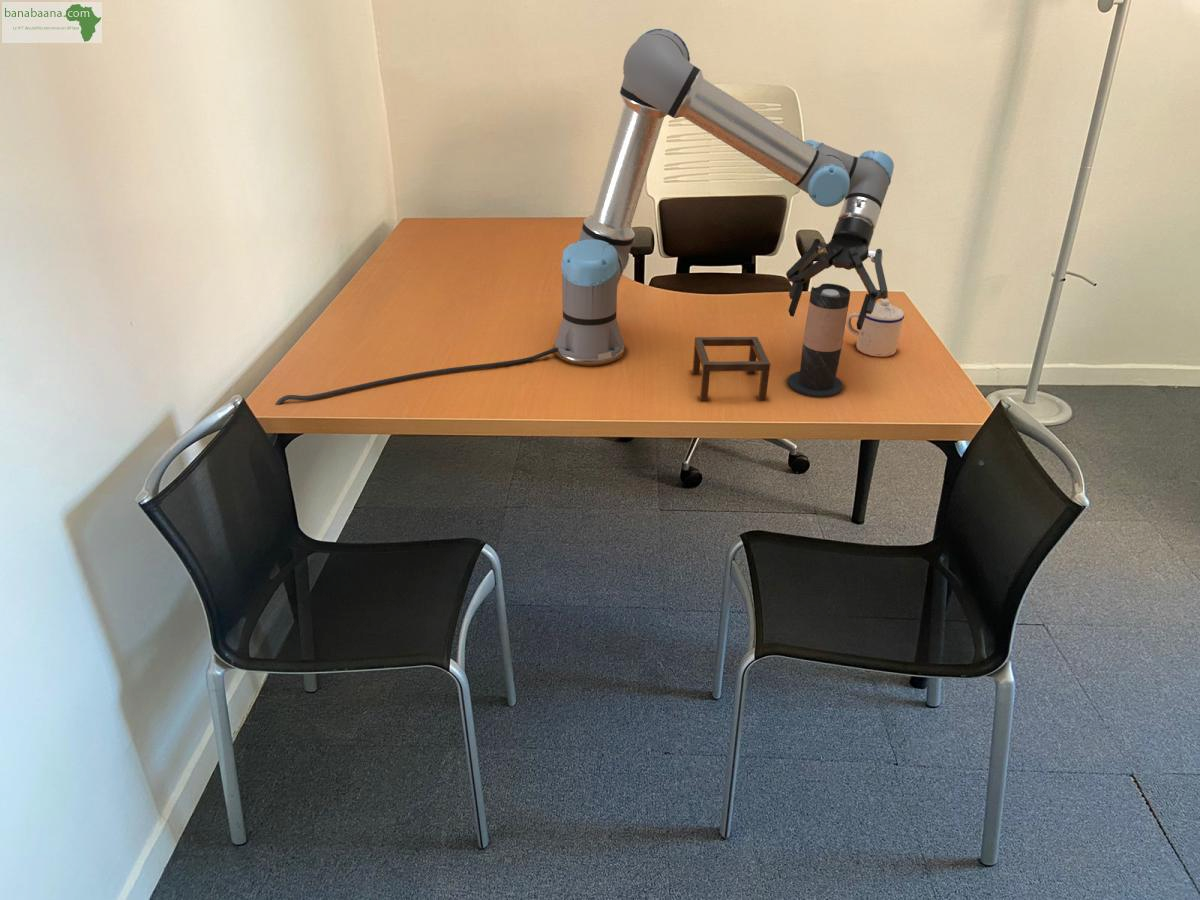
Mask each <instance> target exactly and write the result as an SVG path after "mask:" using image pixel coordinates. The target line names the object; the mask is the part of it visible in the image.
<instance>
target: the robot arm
mask: <svg viewBox="0 0 1200 900" xmlns="http://www.w3.org/2000/svg"><path fill="white" fill-rule="evenodd" d="M690 61H691V57H690V51H689V48H688V46H687V44H686V42H685V41H684V40H683V38H682V37H681V36H680V35H679V34H678V33H676V32H674V31H672V30H669V29H666V28H653V29H650V30H647V31H646V32H644V33H642V34H641V35H640V36H639V37H638V38H637V39H636V40H635V41H634V43H632V44H631V46H630V47H629V48H628V49H627V51H626V54H625V56H624V59H623V65H622V70H623V76H624V77H623V80H622V83H621V87H620V90H619V96H620V98H621V100H622V102H623V108H622V111H621V114H620V117H619V121H618V125H617V127H616V132H615V135H614V139H613V143H612V146H611V149H610V152H609V157H608V161H607V163H606V167H605V170H604V175H603V178H602V182H601V186H600V189H599V193H598V195H597V199H596V202H595V207H594V210H593V213H592V214H591V215H589V216H587V217H585V218H584V220H583V224H582V225H581V226H582V227H581V230H580V233H579V237H578V240H577V241H576V242H572V243H570V244H569V245H568V246H566V247H565V248H564V250H563V251H562V252H563V253H562V256H561V262H560V267H561V268H560V270H561V291H562V292H561V294H562V295H561V298H562V299H561V300H562V319H561V323H560V325H559V329H558V331H557V335H556V337H555V341H554V348H550V349H548V350H545V351H542V352H539V353H537V354H534V355H531V356H527V357H524V358H518V359H512V360H504V361H497V362H490V363H481V364H471V365H462V366H455V367H448V368H441V369H434V370H428V371H422V372H415V373H410V374H404V375H399V376H394V377H389V378H383V379H379V380H374V381H370V382H365V383H361V384H357V385H356V384H355V385H351V386H348V387H343V388H338V389H334V390H329V391H325V392H320V393H315V394H309V395H299V394H286V395H283V396H282V397H279V399H278V400H277V401H276V402H275V404H274V405H275V406H280V405H282V404H283V403H284V402H286V401H289V400H290V401H291V400H293V401H312V400H317V399H321V398H322V399H323V398H327V397H333V396H336V395H340V394H345V393H349V392H354V391H358V390H362V389H367V388H372V387H376V386H380V385H386V384H390V383H395V382H400V381H406V380H411V379H418V378H422V377H428V376H435V375H441V374H448V373H449V374H450V373H455V372H464V371H472V370H482V369H489V368H490V369H491V368H499V367H505V366H513V365H519V364H524V363H528V362H532V361H537V360H539V359H541V358H544V357H546V356H549V355H552V354H555V355H556V356H557V358H558V359H560V360H561V361H563V362H566V363H568V364H572V365H575V366H584V367H585V366H586V367H593V366H594V367H595V366H603V365H608V364H611V363H614V362H616V361H618V360H619V359H621V358H622V357H623V355H624V353H625V343H624V338H623V335H622V332H621V329H620V326H619V323H618V319H617V310H618V309H617V308H618V307H617V305H618V301H617V300H618V285H619V283H620V281H621V278H622V276H623V273H624V271H625V269H626V268H627V266H628V264H629V259H630V253H631V248H632V246H633V243H634V239H635V235H636V233H635V232H634V230H633V227H632V223H633V219H634V217H635V213H636V209H637V206H638V203H639V200H640V196H641V193H642V190H643V188H644V184H645V181H646V177H647V174H648V172H649V171H648V170H649V168H650V164H651V161H652V158H653V155H654V151H655V148H656V145H657V142H658V139H659V136H660V132H661V129H662V126H663V122H664V119H665V117H667V116H670V117H671V118H673V119H678V118H684V119H686V120H687V121H688V122H690V123H692V124H693V125H696V126H697V127H698V128H700V129H702V130H703V131H705V132H707V133H708V134H710V135H712V136H714V137H715V138H717V139H718V140H720V141H722V142H723V143H724V144H727V146H730V147H731V148H733V149H735V150H736V151H738V152H739V153H741V154H743V155H745V156H746V157H748V158H750V159H751V160H753V161H754V162H756V163H757V164H759V165H761V166H762V167H764V168H766V169H767V170H769V171H771V172H772V173H774V174H776V175H777V176H779V177H780V178H782V179H784V180H786V181H787V182H788V183H790V184H792V185H794V186H795V187H796V188H798V189H800V190H801V191H803V192H805V193H806V194H808V196H809V198H810V199H811V200H812V201H813V202H814V204H816V205H818V206H820V207H823V208H829V207H835V206H837V205H839V204H840V203H842V202H843V203H842V205H841V209H840V212H839V215H838V218H837V219H838V220H837V222H836V224H835V227H834V230H833V233H832V236H831V239H830V241H828V243H826V242H822V241H821V240H820V238H815V239H814V240H813V242H812V244H811V246H810V248H809V249H808V250H807V251H806V252H805V253H804V254H803V255H802V256H801V257H800V258H799V259H798V260H797V261H796V262H795V263H794V264H793V265H792V266H790V268H789V269H788V270H787V271H786V273H785V275H786V279H787V281H788V282H789V283H792V284H791V287H790V288H789V293H788V296H789V299H790V300H791V301H790V305H789V306H788V307H789V308H788V309H787V310H788V314H789V316H790V317H795V314H796V311H797V308H798V305H799V303H800V300H801V296H802V294H803V290H804V284H805V283H806V282H808V281H809V280H811V279H812V278H814V277H815V276H817V275H818V274H820V273H821V272H824V270H827V269H829V268H831V267H833V266H834V268H835V269H836V268H837V269H843V270H849V271H851V270H853V269H854V270H855V271H856V273H857V275H858V276H859V279H860V280H861V282H862V284H863V286H864V288H865V289H866V291H867V293H865V296H864V299H863V303H862V306H861V308H860V311H859V313H860V314H859V317H857V322H856V330H857V331H859V330H861V329H862V326H863V323H864V320H865V317H866V313H867V314H871V313H872V312H873V309H874V306H875V303H877V301H878V300H881V299H888V297H889V294H888V293H889V292H888V286H887V281H886V277H885V272H884V268H883V263H882V261H883V249H882V248H877V249H876V250H869V247H870V245H871V241H872V238H873V235H874V232H875V231H874V230H876V226H877V223H878V220H879V217H880V214H881V211H882V210H881V209H882V207H883V203H884V201H885V198H886V195H887V193H888V189H889V187H890V186H891V181H892V177H893V173H894V168H895V164H894V160H893V158H892V157H891V156H890V155H888V154H887V153H885V152H883V151H880V150H878V151H875V150H865V151H863V152H861V154H860V155H859V156H856V155H855V156H854V155H851V154H849V153H847V152H844V151H842V150H840V149H837V148H834V147H832V146H830V145H827V144H825V143H824V142H819V141H816V140H813V139H807V140H805V141H804V140H803V139H801V138H799V137H798V136H796V135H795V134H793V133H791V132H789V131H788V130H786V129H785V128H783V127H782V126H780V125H779V124H777V123H775V122H774V121H772V120H771V119H769V118H767V117H766V116H765V115H763V114H762V113H759V112H758V111H756V110H755V109H753V108H752V107H749V106H748V105H747V104H745V103H743V102H742V101H740V100H739V99H737V98H736V97H734V96H732V95H730V94H729V93H727V92H726V91H724V90H722V89H721V88H719V87H718V86H716V85H715V84H713V83H711V82H710V81H708V80H707V79H706V78H704V75H703V70H702V69H701V68H699V67H697V66H695V65H694V64H693V63H691V62H690ZM823 251H826V254H824V255H823V256H822V257H821V258H820V259H818V260H817V261H816V262H814V263H813V264H811V263H812V262H813V261H814V260H815V259H816V258H817V256H818V254H822V252H823ZM868 258H869V259H870V262H871V263H873V264H874V269H875V273H876V278H877V283H878V288H879V289H878V288H876V286H875V284H874V282H873V281H872V279H871V277H870V275H869V273H868V272H867V269H866V268H865V266H864V262H865V261H866V260H867V259H868ZM810 264H811V265H810ZM809 265H810V266H809Z"/></svg>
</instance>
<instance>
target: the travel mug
mask: <svg viewBox="0 0 1200 900" xmlns="http://www.w3.org/2000/svg"><path fill="white" fill-rule="evenodd" d="M850 298H851V290H850V289H849V288H848V287H846V286H844V285H840V284H836V283H822V284H820V285H819V286H817V287H814V286H812V287H811V289H810V295H809V302H808V308H807V314H806V320H805V327H804V334H803V339H802V346H801V347H802V348H801V356H800V357H801V358H800V367H799V372H800V375H799V382H800V384H801V385H803V386H804V387H806V388H809V389H813V390H827V389H830V388H832V387H833V386H834V383H835V378H837V373H838V367H839V364H840V358H841V353H842V349H843V343H844V336H845V330H846V325H847V319H848V311H849V306H850V305H849V304H850V300H851V299H850Z"/></svg>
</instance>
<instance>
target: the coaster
mask: <svg viewBox="0 0 1200 900" xmlns="http://www.w3.org/2000/svg"><path fill="white" fill-rule="evenodd" d="M799 375H800V371H796V372H793V373H792V374H790V375H789V376H788V378H787V386H788V387H789V388H790V389H791V390H792V391H794V392H795V393H797V394H800V395H803V396H807V397H812V398H829V397H834V396H836V395H838V394H840V393H841V392H842V390H843V383H842V381H841V380H840V379H839V378H838V377H836V378H835V383H834V386H833V387H832V388H830V389H827V390H813V389H809V388H806V387H804V386H803V385H801V384H800V382H799Z"/></svg>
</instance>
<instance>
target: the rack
mask: <svg viewBox="0 0 1200 900" xmlns="http://www.w3.org/2000/svg"><path fill="white" fill-rule="evenodd" d="M706 347H749V352H748V353H749V354H748V361H747V360H746V361H745V360H744V361H743V360H742V361H741V360H740V361H739V360H737V361H736V360H735V361H730V360H729V361H727V360H725V361H710V359H709V357H708V353H707V350H706ZM701 368H702V369H701ZM770 368H771V363H770V360H769V358H768V356H767V354H766V352H765V350H764V348H763V346H762V343H761V342H760V340H759V338H758V336H696V337H694V345H693V360H692V375H700V372H701V379H700V380H701V382H700V391H699V392H700V393H699V399H700V402H707V401H708V399H709V398H708V397H709V385H710V376H711V375H710V373H711V372H747V374H748V375H755V373H756V372H760V379H759V388H758V394H757V397H758V400H759V401H766V400H767V395H768V394H767V393H768V385H769V378H770V377H769V375H770Z"/></svg>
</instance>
